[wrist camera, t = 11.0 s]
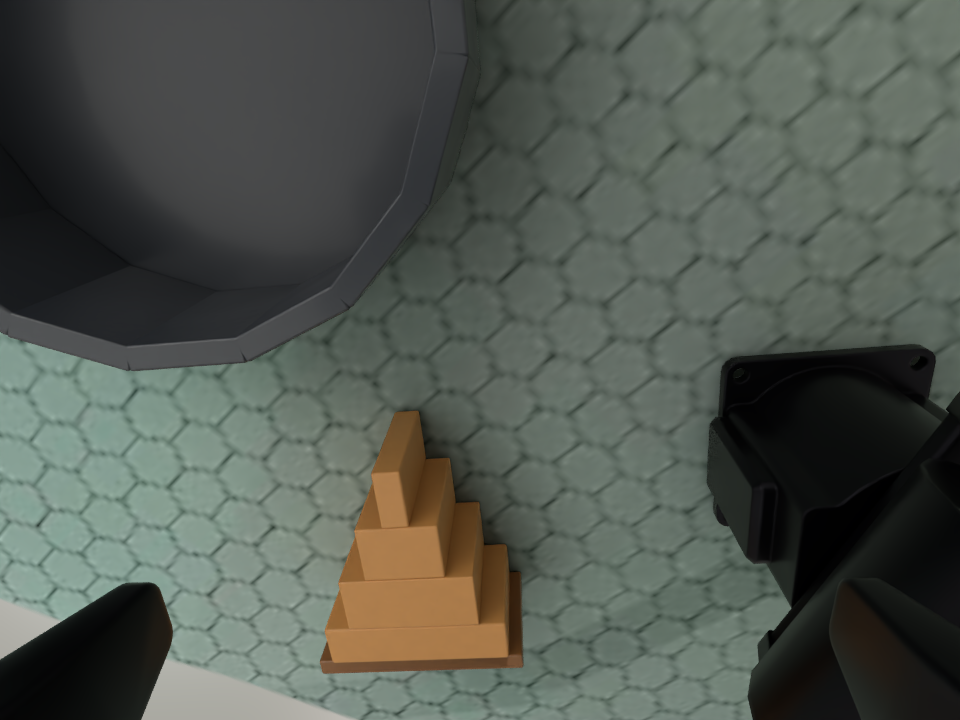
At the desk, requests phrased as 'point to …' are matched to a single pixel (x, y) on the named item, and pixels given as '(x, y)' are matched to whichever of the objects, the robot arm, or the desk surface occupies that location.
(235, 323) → the pan
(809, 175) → the desk surface
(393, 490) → the tan stepped block
